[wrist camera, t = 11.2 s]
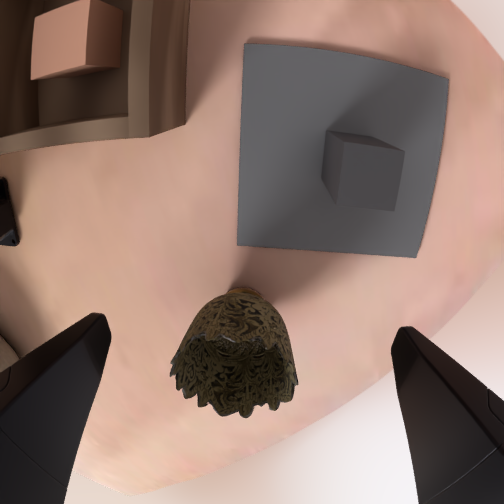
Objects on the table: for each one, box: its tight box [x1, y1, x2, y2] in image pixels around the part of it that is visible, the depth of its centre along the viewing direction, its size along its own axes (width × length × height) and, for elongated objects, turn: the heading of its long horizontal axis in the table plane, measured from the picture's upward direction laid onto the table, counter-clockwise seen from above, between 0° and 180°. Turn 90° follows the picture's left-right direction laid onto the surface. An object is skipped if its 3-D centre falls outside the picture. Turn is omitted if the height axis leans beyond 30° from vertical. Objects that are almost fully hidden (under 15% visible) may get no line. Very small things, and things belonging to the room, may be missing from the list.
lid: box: [237, 44, 449, 258], centre depth 16 cm, size 13×13×6 cm
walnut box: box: [0, 0, 190, 155], centre depth 12 cm, size 12×12×6 cm
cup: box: [170, 287, 298, 418], centre depth 20 cm, size 8×7×8 cm
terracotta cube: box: [31, 0, 123, 80], centre depth 12 cm, size 4×4×4 cm
